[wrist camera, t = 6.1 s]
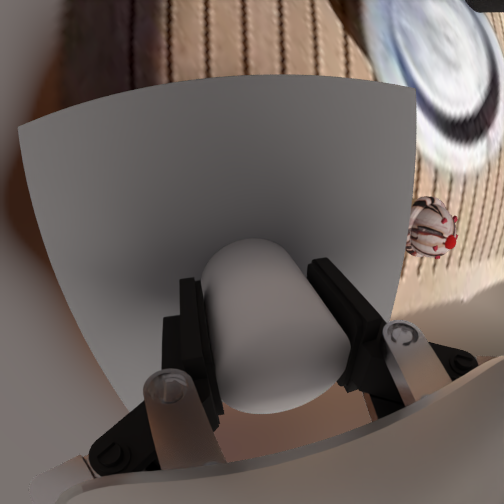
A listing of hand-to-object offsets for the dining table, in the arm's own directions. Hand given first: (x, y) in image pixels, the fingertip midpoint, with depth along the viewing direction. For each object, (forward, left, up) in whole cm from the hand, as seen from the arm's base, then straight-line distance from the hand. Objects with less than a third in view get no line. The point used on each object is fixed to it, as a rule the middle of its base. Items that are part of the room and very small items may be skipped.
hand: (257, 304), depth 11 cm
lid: (0, 0, -2) cm, 2 cm away
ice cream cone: (+3, +17, -20) cm, 27 cm away
